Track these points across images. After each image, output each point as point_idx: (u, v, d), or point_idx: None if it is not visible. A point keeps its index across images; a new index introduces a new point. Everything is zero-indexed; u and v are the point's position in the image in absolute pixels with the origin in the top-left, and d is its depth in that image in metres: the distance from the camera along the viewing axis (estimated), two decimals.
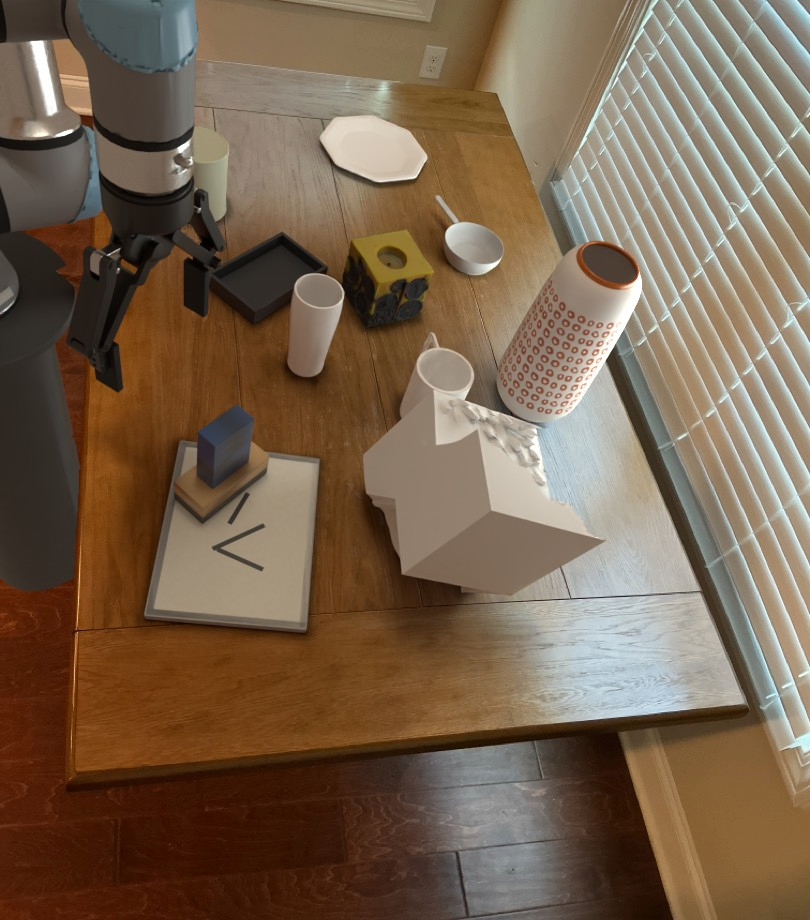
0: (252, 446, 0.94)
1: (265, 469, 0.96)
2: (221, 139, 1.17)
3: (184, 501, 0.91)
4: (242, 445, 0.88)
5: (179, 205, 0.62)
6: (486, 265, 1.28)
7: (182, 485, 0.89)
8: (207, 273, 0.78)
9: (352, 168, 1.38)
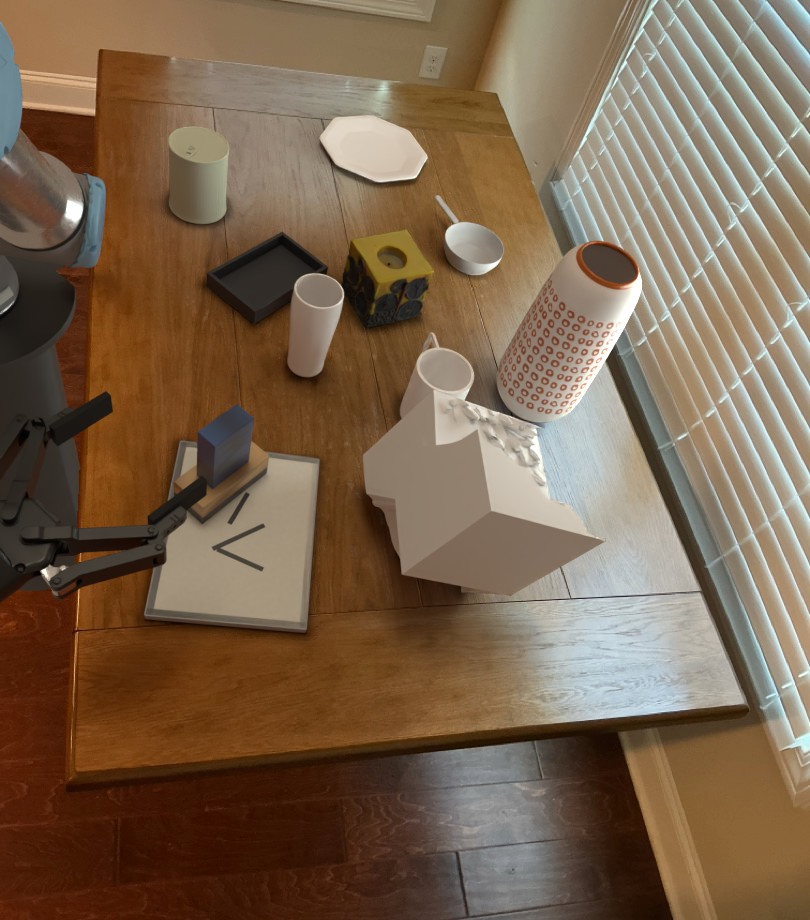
0: (252, 446, 0.94)
1: (265, 469, 0.96)
2: (221, 139, 1.17)
3: None
4: (242, 445, 0.88)
5: None
6: (486, 265, 1.28)
7: (182, 485, 0.89)
8: None
9: (352, 168, 1.38)
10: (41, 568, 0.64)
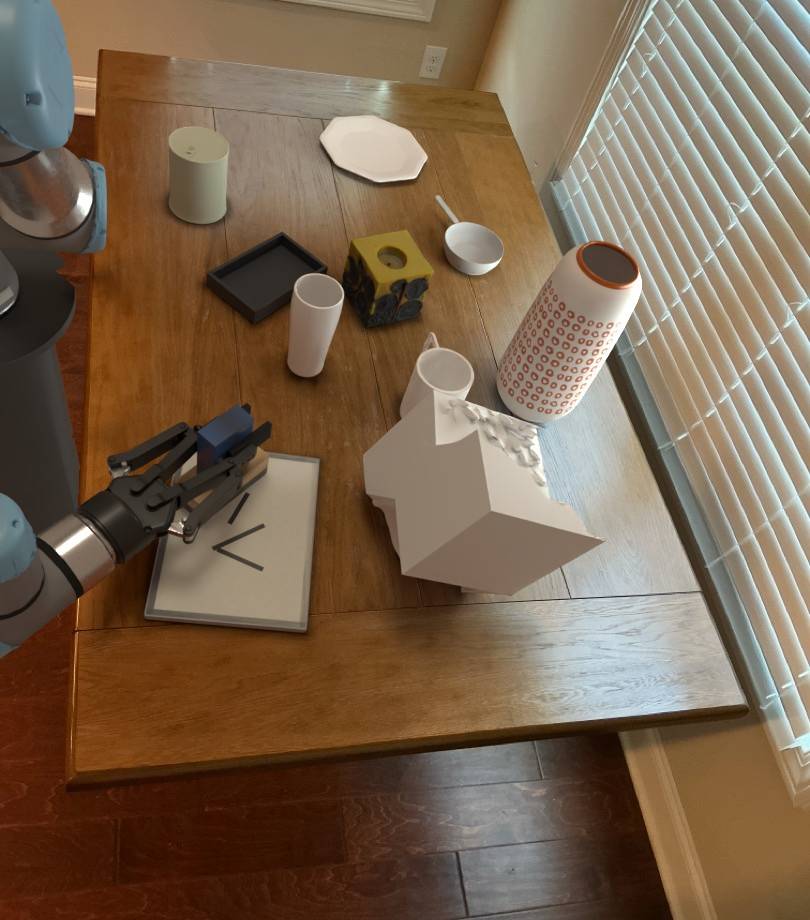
0: None
1: (265, 469, 0.96)
2: (221, 139, 1.17)
3: None
4: None
5: None
6: (486, 265, 1.28)
7: None
8: None
9: (352, 168, 1.38)
10: (164, 530, 0.79)
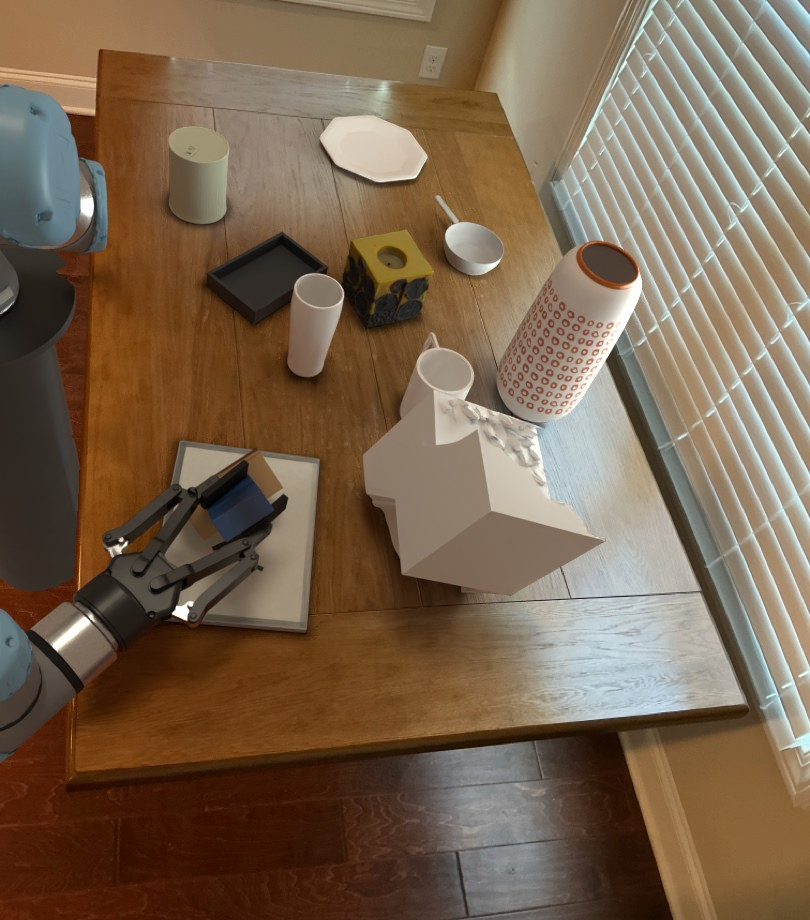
0: (268, 474, 0.88)
1: None
2: (221, 139, 1.17)
3: None
4: None
5: None
6: (486, 265, 1.28)
7: None
8: None
9: (352, 168, 1.38)
10: (169, 614, 0.74)
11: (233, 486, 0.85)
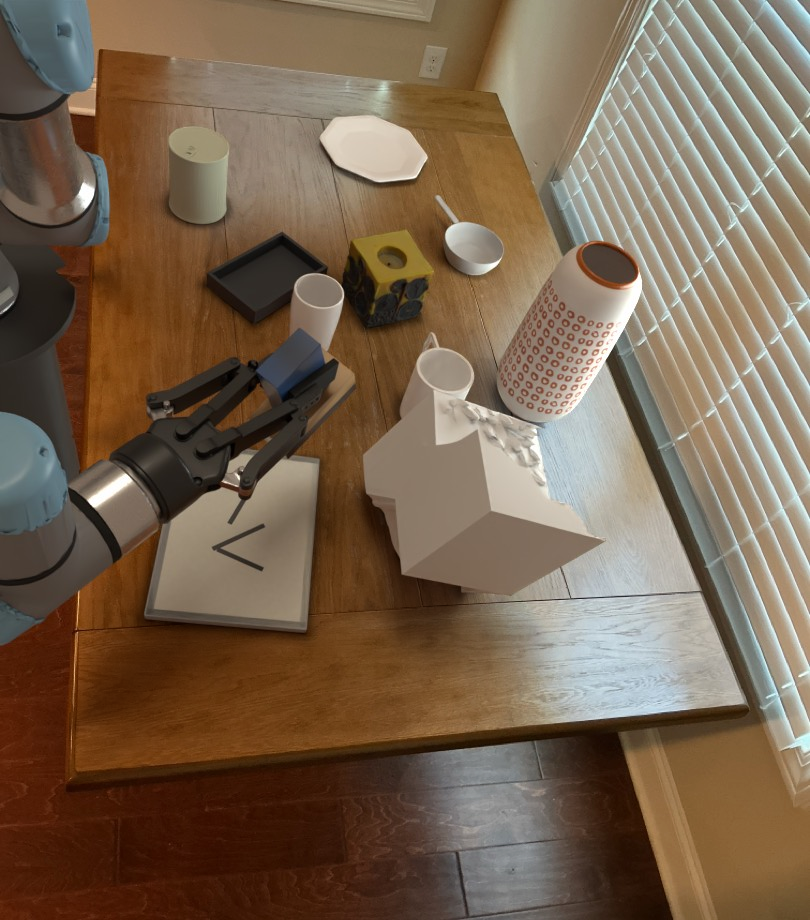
0: None
1: (353, 386, 0.82)
2: (221, 139, 1.17)
3: None
4: None
5: None
6: (486, 265, 1.28)
7: None
8: None
9: (352, 168, 1.38)
10: (217, 482, 0.65)
11: None
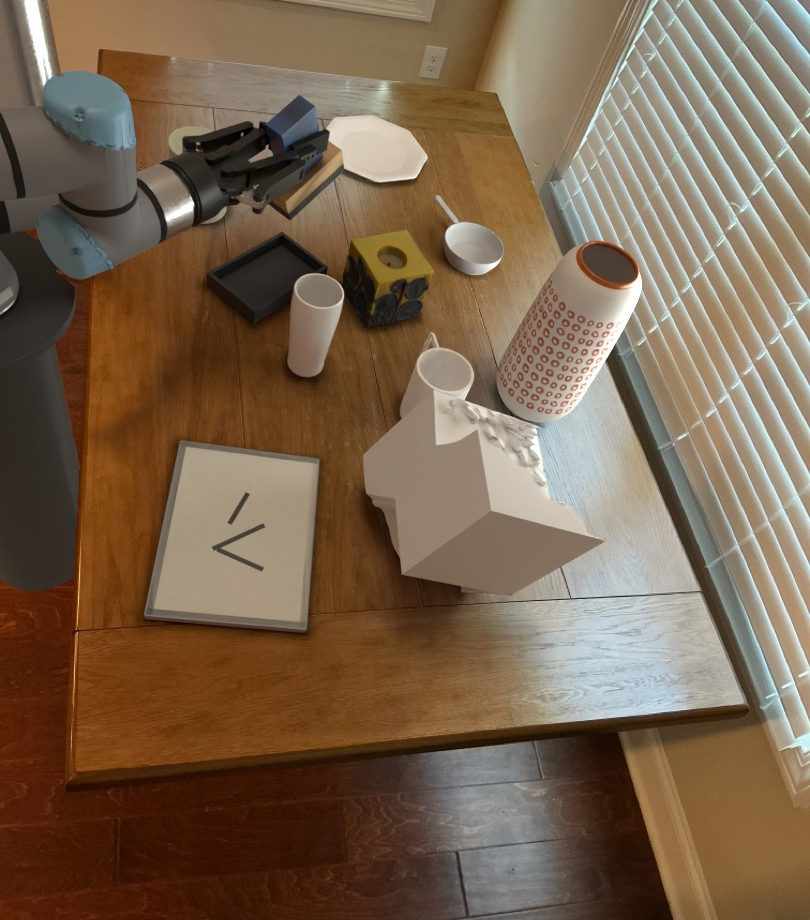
0: None
1: (341, 165, 1.03)
2: None
3: None
4: None
5: None
6: (486, 265, 1.28)
7: None
8: None
9: (352, 168, 1.38)
10: (236, 194, 0.86)
11: None
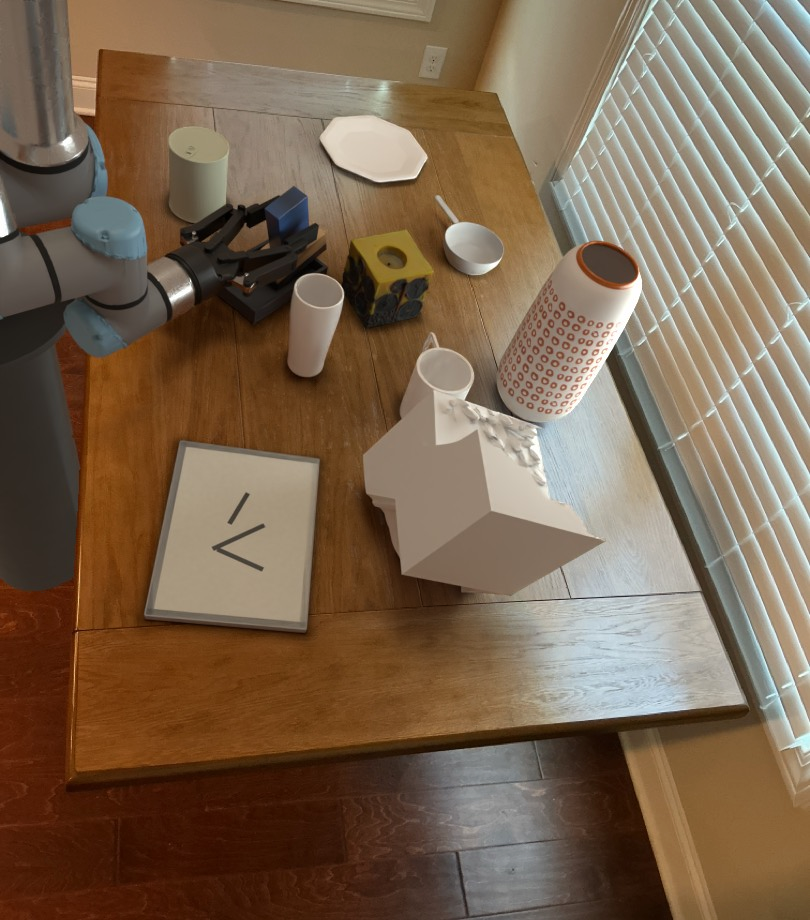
0: None
1: (324, 245, 1.20)
2: (221, 139, 1.17)
3: None
4: (301, 221, 1.11)
5: None
6: (486, 265, 1.28)
7: None
8: None
9: (352, 168, 1.38)
10: (231, 278, 1.02)
11: None
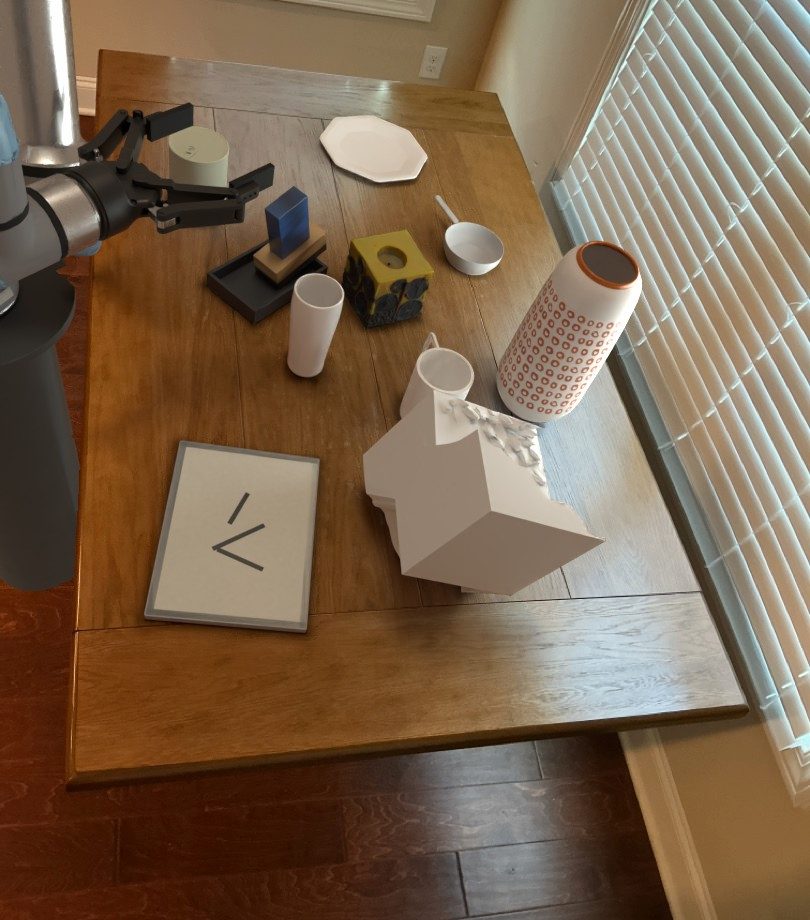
0: (312, 225, 1.18)
1: (324, 245, 1.20)
2: (221, 139, 1.17)
3: (262, 272, 1.16)
4: (301, 221, 1.11)
5: None
6: (486, 265, 1.28)
7: (259, 257, 1.14)
8: None
9: (352, 168, 1.38)
10: (149, 205, 0.80)
11: None
